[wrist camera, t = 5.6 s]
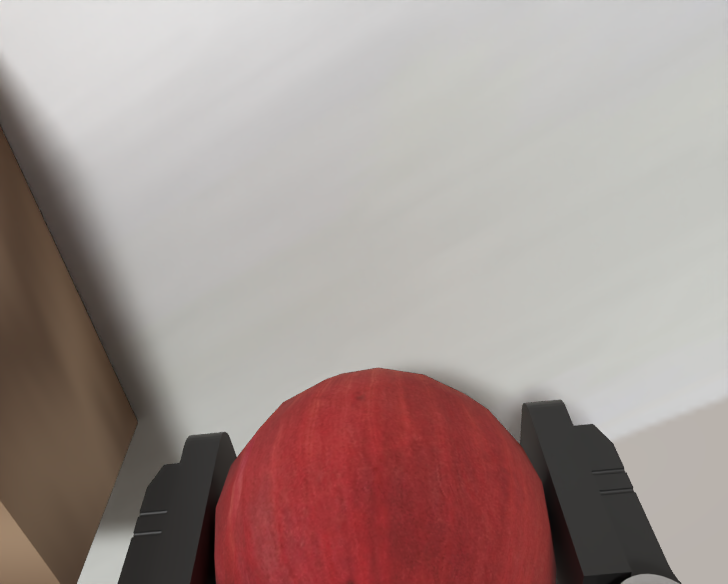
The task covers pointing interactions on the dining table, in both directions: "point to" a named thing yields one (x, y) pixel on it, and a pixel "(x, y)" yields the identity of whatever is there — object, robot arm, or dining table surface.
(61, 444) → the walnut base
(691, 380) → the dining table surface
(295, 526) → the onion
